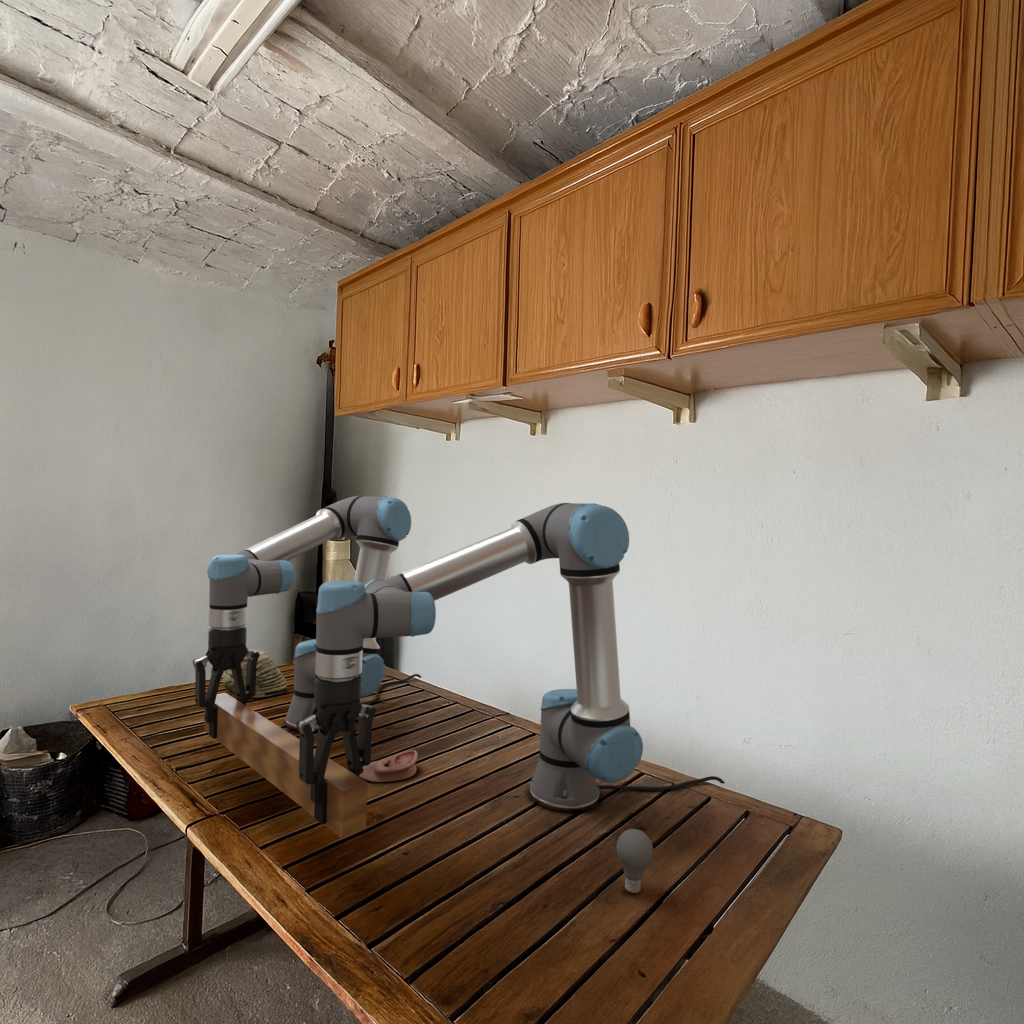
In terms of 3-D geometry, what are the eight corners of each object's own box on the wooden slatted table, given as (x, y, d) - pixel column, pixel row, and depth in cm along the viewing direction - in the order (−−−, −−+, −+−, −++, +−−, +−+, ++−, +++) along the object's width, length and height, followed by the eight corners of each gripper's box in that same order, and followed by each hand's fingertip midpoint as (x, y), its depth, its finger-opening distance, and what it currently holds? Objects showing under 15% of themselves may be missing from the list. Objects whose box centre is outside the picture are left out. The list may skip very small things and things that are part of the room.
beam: (203, 730, 140) (204, 696, 140) (224, 725, 143) (225, 692, 143) (341, 838, 99) (343, 790, 99) (366, 828, 102) (367, 782, 102)
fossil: (218, 695, 195) (220, 647, 195) (278, 685, 208) (279, 640, 207) (228, 703, 189) (230, 653, 188) (289, 692, 201) (290, 645, 201)
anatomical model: (349, 761, 142) (371, 742, 154) (348, 778, 142) (370, 758, 154) (405, 768, 140) (423, 749, 151) (404, 786, 140) (422, 765, 151)
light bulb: (610, 879, 108) (613, 822, 108) (644, 879, 109) (647, 822, 109) (619, 902, 102) (622, 840, 102) (655, 901, 103) (658, 840, 103)
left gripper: (190, 635, 128) (188, 749, 129) (274, 624, 140) (272, 729, 141) (178, 628, 133) (175, 738, 134) (260, 619, 146) (257, 719, 146)
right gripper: (299, 691, 95) (295, 844, 96) (396, 671, 108) (391, 806, 108) (277, 679, 101) (273, 824, 101) (371, 662, 113) (367, 791, 114)
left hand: (225, 733), depth 137 cm, fingers closed on beam, 4 cm apart
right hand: (334, 815), depth 105 cm, fingers closed on beam, 4 cm apart
